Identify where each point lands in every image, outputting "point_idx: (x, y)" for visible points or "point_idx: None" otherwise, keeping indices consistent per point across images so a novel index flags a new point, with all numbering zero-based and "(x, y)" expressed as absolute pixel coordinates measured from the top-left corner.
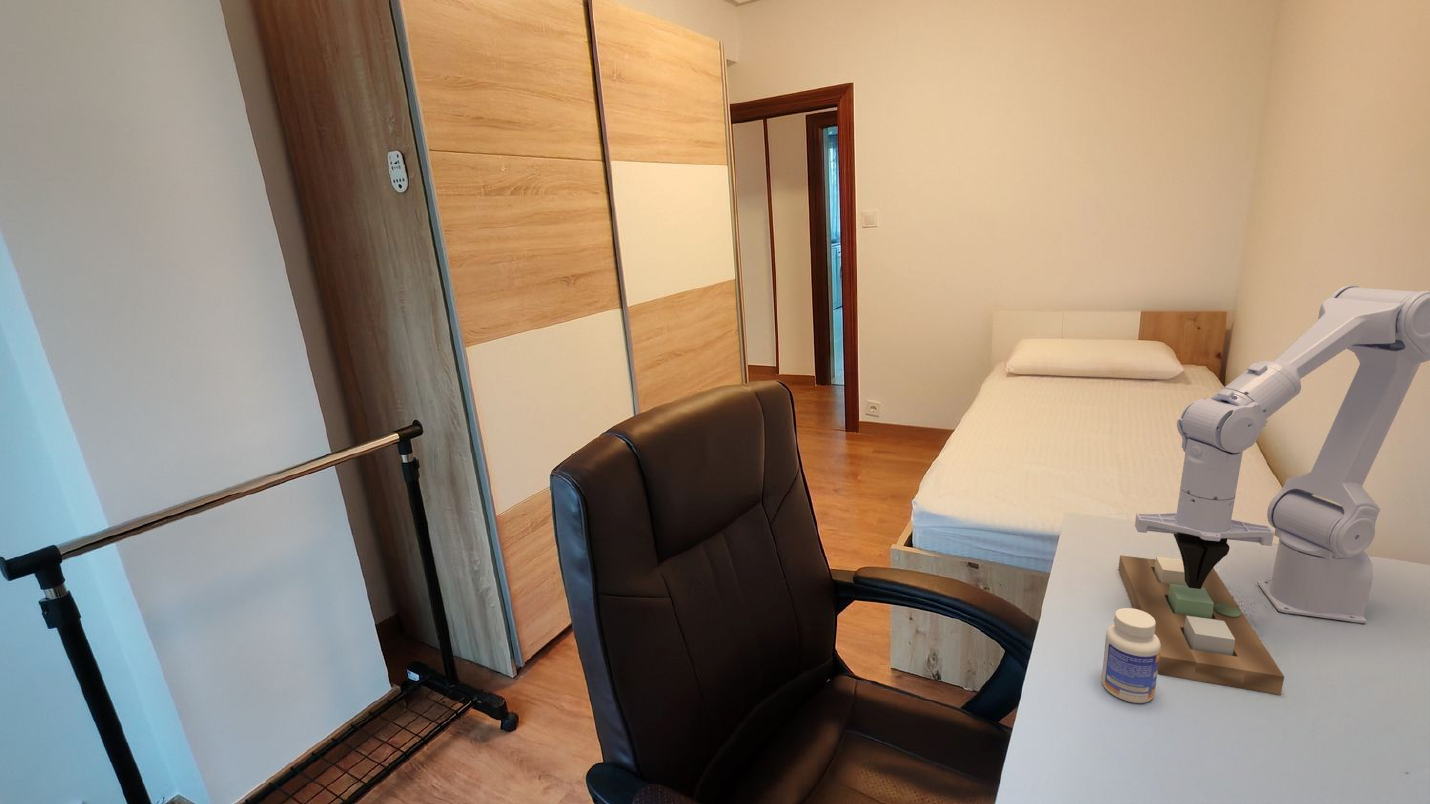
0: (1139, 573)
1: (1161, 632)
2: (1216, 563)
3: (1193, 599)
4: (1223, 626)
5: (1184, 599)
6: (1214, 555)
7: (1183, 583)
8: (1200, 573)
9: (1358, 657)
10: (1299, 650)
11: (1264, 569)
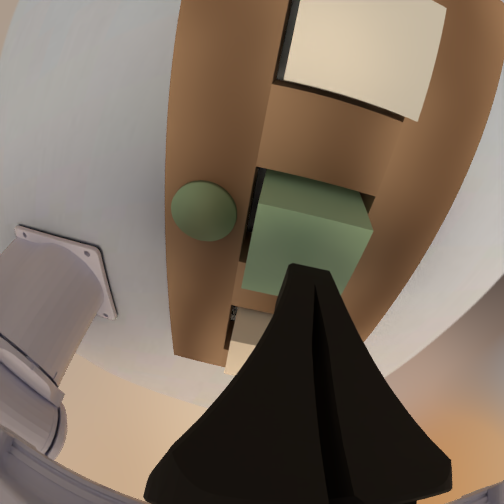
0: None
1: (469, 100)
2: (239, 377)
3: (319, 228)
4: (308, 40)
5: (350, 229)
6: (264, 445)
7: (260, 318)
8: (312, 322)
9: (28, 128)
10: (95, 120)
11: (107, 338)
